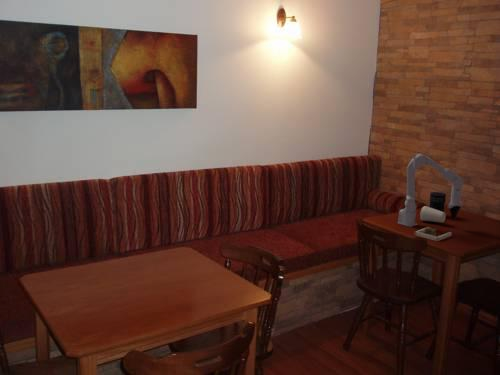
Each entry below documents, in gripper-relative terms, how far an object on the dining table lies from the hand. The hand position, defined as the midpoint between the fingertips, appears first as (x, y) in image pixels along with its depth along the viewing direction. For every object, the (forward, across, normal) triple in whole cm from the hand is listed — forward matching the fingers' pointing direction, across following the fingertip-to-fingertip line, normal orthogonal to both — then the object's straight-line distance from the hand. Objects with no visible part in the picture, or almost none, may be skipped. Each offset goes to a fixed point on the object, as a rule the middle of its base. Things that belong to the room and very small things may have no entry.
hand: (453, 218), depth 309 cm
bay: (+6, -23, 0) cm, 24 cm away
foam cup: (+2, +2, +7) cm, 8 cm away
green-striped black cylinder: (+7, +19, +21) cm, 29 cm away
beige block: (+6, -27, 0) cm, 27 cm away
